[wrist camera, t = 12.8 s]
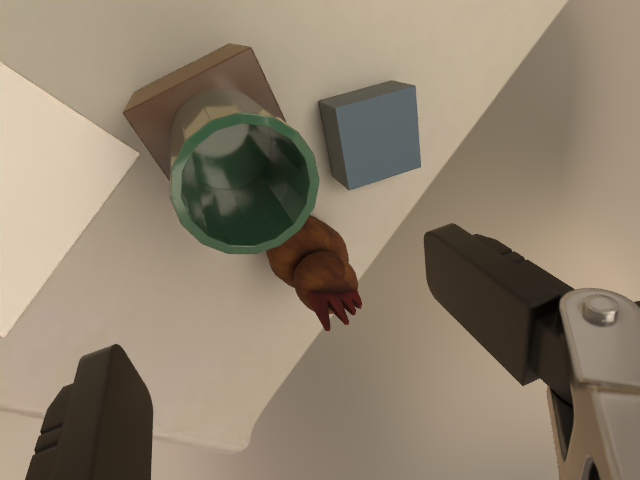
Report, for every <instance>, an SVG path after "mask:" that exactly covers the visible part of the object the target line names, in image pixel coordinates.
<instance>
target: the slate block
mask: <svg viewBox="0 0 640 480" xmlns="http://www.w3.org/2000/svg"><path fill="white" fill-rule="evenodd" d="M319 106H320V111H321V116H322V121H323V127H324V132H325V137H326V143H327V148H328V153H329V158H330V164H331V169H332V174H333V177H334V178H335V179H336V180H338V181H339V182H340V183H341V184H342V185H343V186H345V187H346V188H347V189H348V190H352V189H355V188H358V187H361V186H364V185H367V184H370V183H373V182H376V181H379V180H383V179H386V178H389V177H392V176H395V175H398V174H401V173H404V172H407V171H410V170H413V169H416V168H419V167H421V160H420V146H419V131H418V116H417V102H416V87H415V85H410V84H406V83H401V82H396V81H388V82H385V83H381V84H378V85H374V86H370V87H367V88H363V89H360V90H356V91H352V92H349V93H345V94H341V95H338V96H334V97H331V98H327V99H323V100H320V101H319Z"/></svg>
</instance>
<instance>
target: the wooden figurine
mask: <svg viewBox="0 0 640 480" xmlns="http://www.w3.org/2000/svg"><path fill="white" fill-rule="evenodd" d="M266 252H267V256H268V259H269V263H270V265H271V268H272V270H273V272H274V273H275V275H276V276H278V277H279V278H280V279H281V280H283V281H284V282H285V283H287V284H288V285H289V286H291V287H294V288H295V290H296V293H297V295H298V297H299V298H300V300H301V301H302V302H303V303H304V304H305V305H306V306H307V307H308V308H309V309H311V310H312V311H314V312H315V313H316V315H317V316H318V318H319V320H320V322H321V324H322V325H323V327H324V329H325V330H326V331H330V319H329V314H335V315H336V316H337V317H338V318H339V319H340V320H341V321H342V322H343V323H344V324H345V325H348V324H349V320H348V317H347V315H346V312H345V310H344V308H345V309H346V310H347V311H348V312H349V313H350V314H352V315H355V313H356V309H355V307H357V308H360V309H361V306H362V302H361V298H360V296H359V294H358V291H357V289H358V281H357V277H356V273H355V271H354V270H353V268H352V267H351V266H350V264H349V263H348V261H349V259H348V252H347V249H346V245H345V242H344V240H343V238H342V237H341V236H340V235H339V233H338V232H336V231H335V230H334V229H332V228H331V227H330V226H328V225H327V224H326V223H324V222H323V221H321V220H319V219H317V218H315V217H313V216H311V215H309V217H308V218H307V220H306V222H305V223H304V225H303V226H302V228H301V229H300V230H299V231H298V232H297V233H295V234H294V235H293V236H291V237H290V238H289V239H288V240H286V241H285V242H284V243H283V244H281V245H279V246H277V247H274V248H271V249H268V250H266ZM354 306H355V307H354Z"/></svg>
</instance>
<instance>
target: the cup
mask: <svg viewBox="0 0 640 480" xmlns="http://www.w3.org/2000/svg"><path fill="white" fill-rule="evenodd" d="M169 167H170V198H171V201H172V204H173V206H174V209H175V211H176V213H177V216H178V218H179V220H180V223H181V224H182V226H183V227H184V228H185V229H187V230H188V231H189V232H190V233H191V234H192V235H193V236H194V237H195V238H196V239H197V240H198V241H199V242H200V243H202V244H204V245H206V246H209V247H211V248H214V249H216V250H219V251H222V252H224V253H228V254H257V253H260V252H262V251H265V250H268V249H271V248H274V247H277V246H279V245H281V244H283V243H284V242H285V241H286V240H288V239H289V238H290V237H291V236H293V235H294V234H295V233H297V232H298V231H299V230H300V229H301V228H302V226H303V225H304V223H305V222H306V220H307V218H308V217H309V215H310V213H311V212H312V210H313V209H314V206H315V202H316V197H317V191H318V186H319V176H318V171H317V166H316V162H315V157H314V155H313V152H312V151H311V149H310V148H309V147H308V145H307V144H306V142H305V141H304V139H303V138H302V137H301V135H300V134H299V132H297V131H296V130H295V129H294V128H292V127H291V126H290V125H289V124H287V123H286V122H285V121H283V120H282V119H281V118H279V117H278V116H277V115H275V114H274V113H273V112H271V111H270V110H269V109H267V108H266V107H265V106H263V105H262V104H261V103H259V102H258V101H256V100H254V99H253V98H251V97H250V96H248V95H246V94H245V93H243V92H239V91H236V90H232V89H224V88H219V89H211V90H206V91H203V92H200V93H198V94H196V95H194V96H193V97H191V98H190V99H189V100H187V101H186V102H185V103H184V104H183V105H182V106H181V108H180V109H179V110H178V112H177V113H176V115H175V117H174V119H173V122H172V125H171V127H170V137H169Z"/></svg>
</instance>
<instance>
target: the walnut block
mask: <svg viewBox="0 0 640 480" xmlns="http://www.w3.org/2000/svg"><path fill="white" fill-rule="evenodd" d="M219 88H224V89H232V90H236V91H239V92H243V93H245V94H246V95H248V96H250V97H251V98H253V99H254V100H256V101H258V102H259V103H261V104H262V105H263V106H265V107H266V108H267V109H269V110H270V111H271V112H273V113H274V114H275V115H277V116H278V117H279V118H281V119H282V120H283V121H285V119H284V116H283V114H282V112H281V110H280V108H279V106H278V103H277V101H276V99H275V97H274V95H273V93H272V91H271V88H270V86H269V84H268V82H267V80H266V78H265V75H264V73H263V71H262V69H261V67H260V65H259V63H258V60H257V58H256V56H255V54H254V52H253V50H252V48H251V47H247V46H241V45H236V44H227V45H225V46H223V47H221V48H220V49H218V50H216V51H214V52H212V53H210V54H208V55H206V56H204V57H202V58H200V59H198V60H196V61H194V62H192V63H190V64H188V65H186V66H184V67H182V68H180V69H178V70H176V71H174V72H172V73H170V74H168V75H167V76H165V77H163V78H161V79H159V80H157V81H155V82H153V83H151V84H149V85H147V86H145V87H143V88H141V89H139V90H137V91H135V92H134V93H133V95H132V97H131V99H130V101H129V102H128V104H127V106H126V108H125V110H124V112H123V115H124V116H125V117H126V119H127V120H128V122H129V123H130V125H131V126H132V128H133V129H134V130H135V132H136V133H137V135H138V136H139V138H140V139H141V141H142V142H143V143H144V145H145V146H146V148H147V149H148V151H149V152H150V154H151V155H152V156H153V158H154V159H155V161H156V162H157V164H158V165H159V167H160V168H161V169H162V171H163V172H164V174H165V175H166V177H167V178H168V180H169V181H170V167H169V137H170V127H171V125H172V122H173V119H174V117H175V115H176V113H177V112H178V110H179V109H180V108H181V106H182V105H183V104H184V103H185V102H186V101H187V100H189V99H190V98H191V97H193V96H194V95H196V94H198V93H200V92H203V91H206V90H211V89H219ZM285 122H286V121H285Z"/></svg>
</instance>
